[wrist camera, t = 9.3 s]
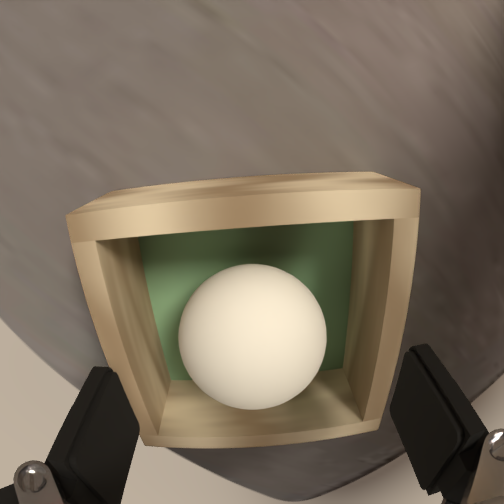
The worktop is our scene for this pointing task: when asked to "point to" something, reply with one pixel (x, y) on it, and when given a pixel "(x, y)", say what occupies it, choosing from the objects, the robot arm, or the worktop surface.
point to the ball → (252, 336)
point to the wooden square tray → (251, 252)
